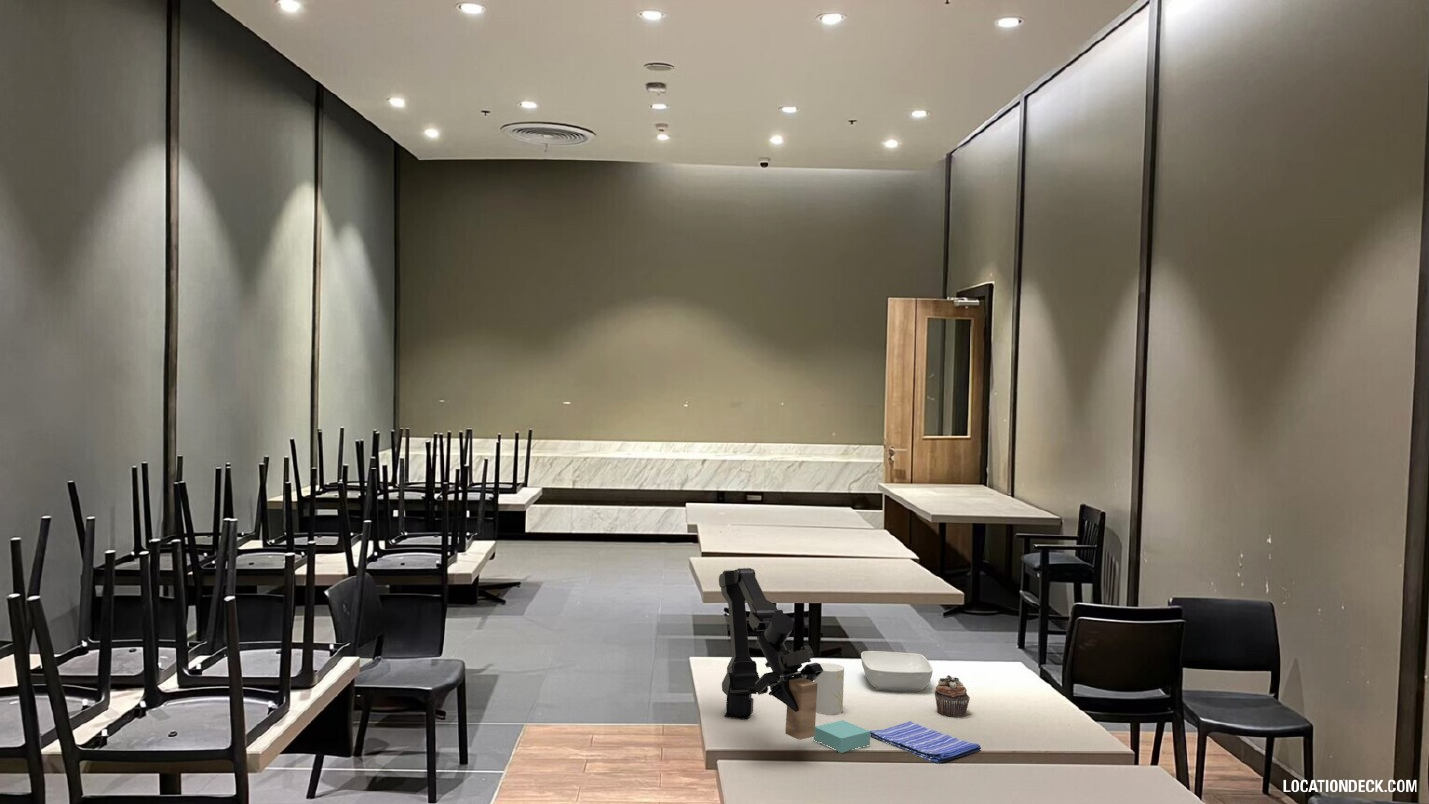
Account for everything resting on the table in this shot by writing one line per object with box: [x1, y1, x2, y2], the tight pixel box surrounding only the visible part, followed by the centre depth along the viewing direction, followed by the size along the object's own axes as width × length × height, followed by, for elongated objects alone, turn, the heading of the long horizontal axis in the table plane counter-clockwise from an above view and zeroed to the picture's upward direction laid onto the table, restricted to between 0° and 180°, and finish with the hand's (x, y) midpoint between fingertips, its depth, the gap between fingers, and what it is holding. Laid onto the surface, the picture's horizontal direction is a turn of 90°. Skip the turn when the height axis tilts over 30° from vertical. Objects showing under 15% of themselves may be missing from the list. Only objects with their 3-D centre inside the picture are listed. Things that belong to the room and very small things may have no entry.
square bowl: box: [860, 650, 934, 693], centre depth 320 cm, size 20×20×8 cm
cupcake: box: [934, 675, 971, 718], centre depth 295 cm, size 10×10×10 cm
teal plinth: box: [813, 719, 871, 754], centre depth 267 cm, size 10×10×4 cm
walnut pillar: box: [785, 678, 818, 741], centre depth 256 cm, size 5×5×13 cm
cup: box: [813, 662, 845, 716], centre depth 293 cm, size 8×8×12 cm
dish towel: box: [869, 720, 982, 764], centre depth 269 cm, size 17×24×3 cm
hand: (805, 708), depth 255 cm, fingers closed on walnut pillar, 5 cm apart
